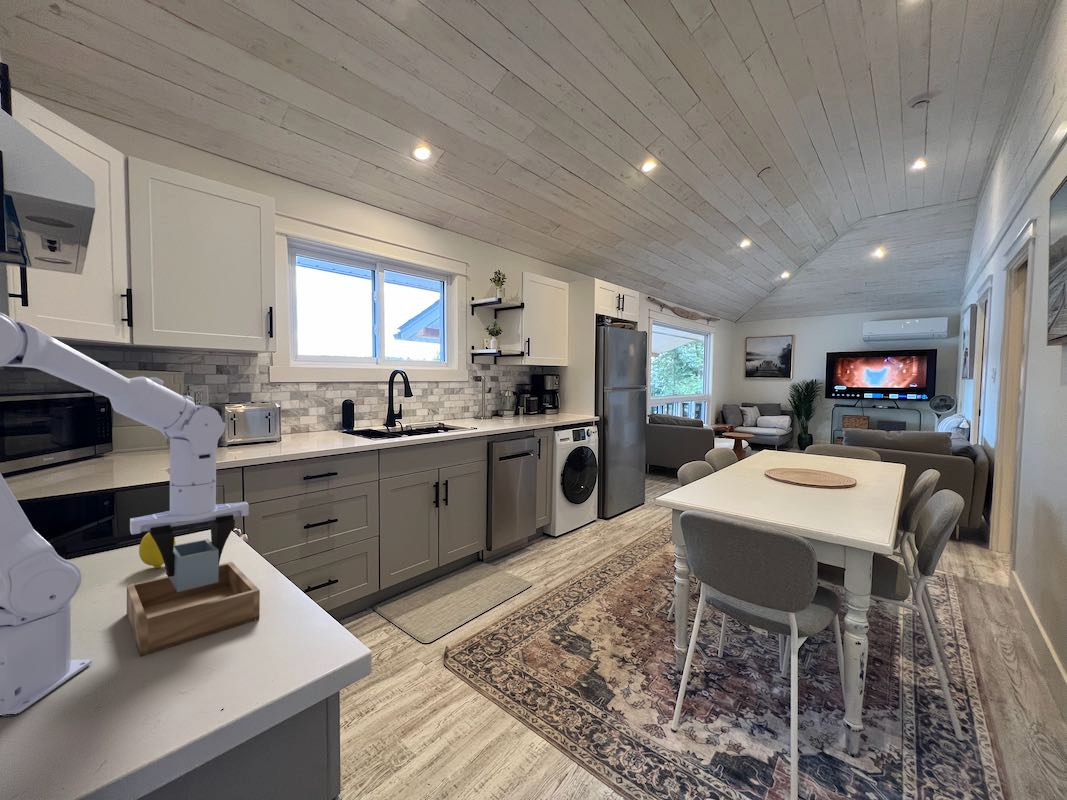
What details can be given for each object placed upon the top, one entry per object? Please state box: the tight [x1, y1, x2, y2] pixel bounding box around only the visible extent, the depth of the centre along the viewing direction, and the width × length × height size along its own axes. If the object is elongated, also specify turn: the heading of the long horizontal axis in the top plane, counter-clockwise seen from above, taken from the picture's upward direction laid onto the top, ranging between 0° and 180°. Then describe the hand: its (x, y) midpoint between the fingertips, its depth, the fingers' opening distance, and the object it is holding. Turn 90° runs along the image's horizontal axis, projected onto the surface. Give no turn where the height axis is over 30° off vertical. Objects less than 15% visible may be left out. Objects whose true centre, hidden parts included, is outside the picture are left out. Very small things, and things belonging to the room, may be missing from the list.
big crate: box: [126, 561, 261, 657], centre depth 70 cm, size 16×14×4 cm
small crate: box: [169, 538, 220, 592], centre depth 70 cm, size 7×5×5 cm
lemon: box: [138, 531, 177, 569], centre depth 88 cm, size 6×6×8 cm
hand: (193, 569), depth 70 cm, fingers closed on small crate, 5 cm apart
